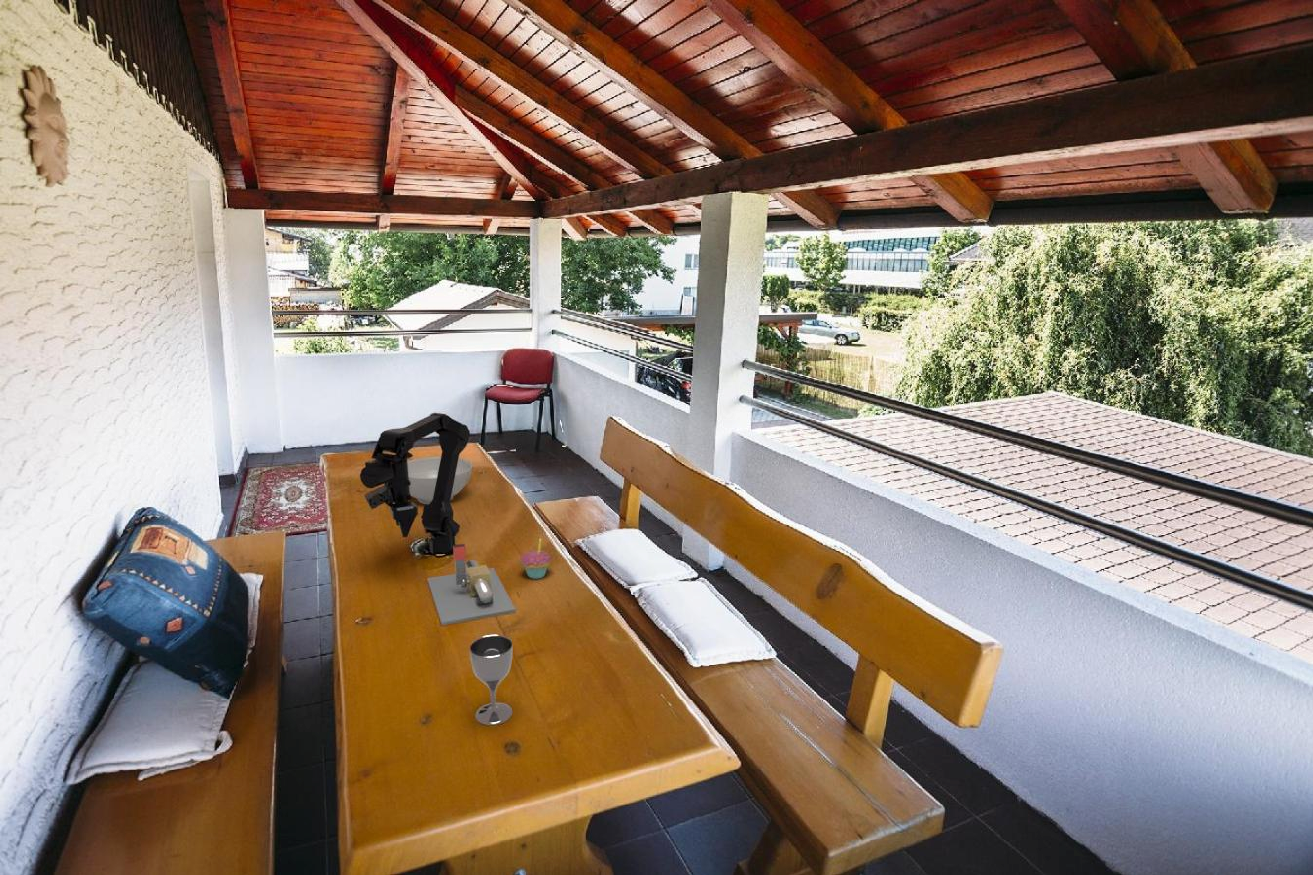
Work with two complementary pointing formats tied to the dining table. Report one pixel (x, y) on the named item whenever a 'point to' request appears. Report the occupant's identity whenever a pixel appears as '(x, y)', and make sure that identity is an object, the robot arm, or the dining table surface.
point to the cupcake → (535, 562)
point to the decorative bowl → (434, 477)
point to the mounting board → (466, 600)
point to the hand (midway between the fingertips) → (401, 531)
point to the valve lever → (460, 564)
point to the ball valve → (479, 582)
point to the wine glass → (492, 674)
